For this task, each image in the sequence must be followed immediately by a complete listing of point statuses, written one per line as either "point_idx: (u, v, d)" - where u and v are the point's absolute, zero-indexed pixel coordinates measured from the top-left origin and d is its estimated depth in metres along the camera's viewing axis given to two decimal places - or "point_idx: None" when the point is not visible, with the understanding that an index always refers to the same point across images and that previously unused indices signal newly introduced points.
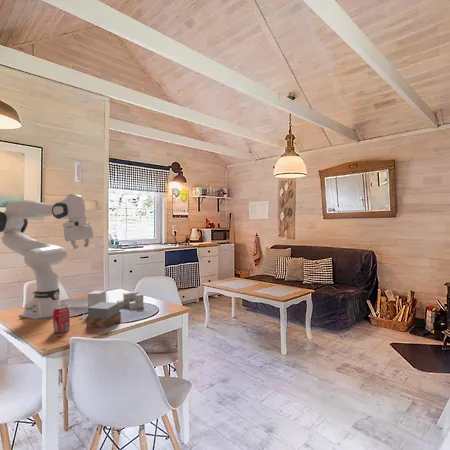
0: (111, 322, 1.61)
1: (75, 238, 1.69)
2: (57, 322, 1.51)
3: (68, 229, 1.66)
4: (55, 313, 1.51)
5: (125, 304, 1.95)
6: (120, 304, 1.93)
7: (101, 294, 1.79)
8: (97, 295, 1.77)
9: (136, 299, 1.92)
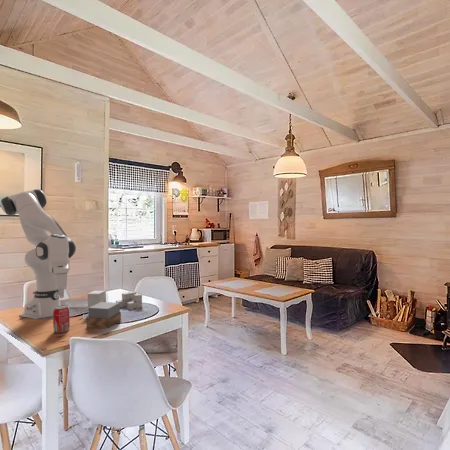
0: (111, 322, 1.61)
1: None
2: (57, 322, 1.51)
3: (63, 276, 1.46)
4: (55, 313, 1.51)
5: (124, 304, 1.94)
6: None
7: (101, 294, 1.79)
8: (97, 295, 1.77)
9: (135, 299, 1.92)
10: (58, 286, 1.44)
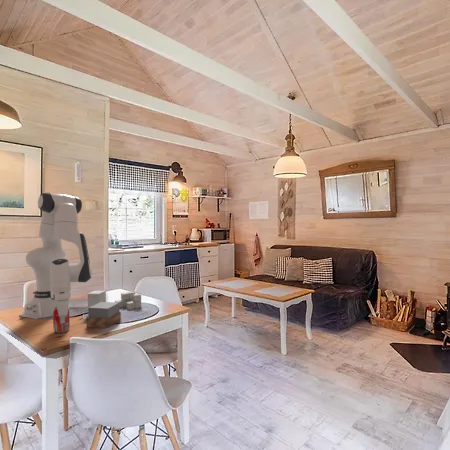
0: (111, 322, 1.61)
1: None
2: (57, 322, 1.51)
3: (64, 303, 1.46)
4: (55, 313, 1.51)
5: (123, 304, 1.94)
6: None
7: (101, 294, 1.79)
8: (97, 295, 1.77)
9: (134, 299, 1.92)
10: (59, 313, 1.45)
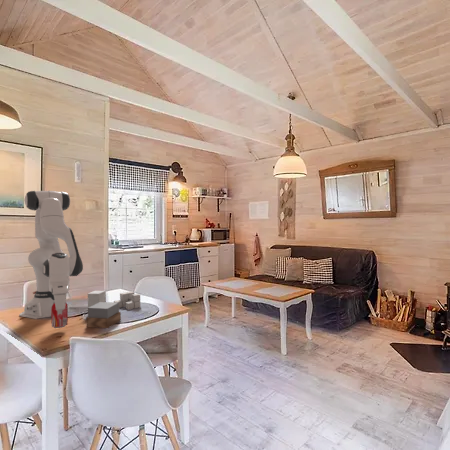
0: (111, 322, 1.61)
1: None
2: (55, 316, 1.50)
3: (62, 297, 1.46)
4: (53, 307, 1.50)
5: (122, 304, 1.94)
6: None
7: (101, 294, 1.79)
8: (97, 295, 1.77)
9: (133, 299, 1.92)
10: (56, 307, 1.45)
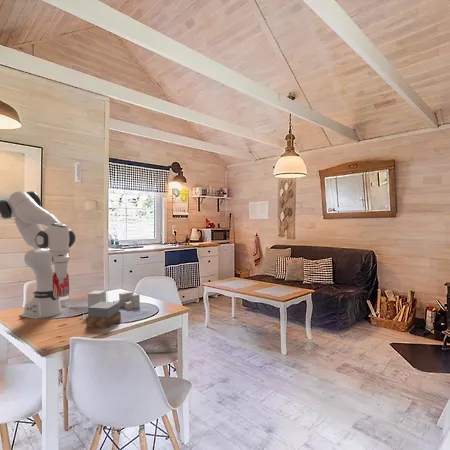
0: (111, 322, 1.61)
1: None
2: (57, 285, 1.49)
3: (63, 265, 1.46)
4: (54, 277, 1.50)
5: (121, 304, 1.94)
6: None
7: (101, 294, 1.79)
8: (97, 295, 1.77)
9: (132, 299, 1.92)
10: (58, 275, 1.44)
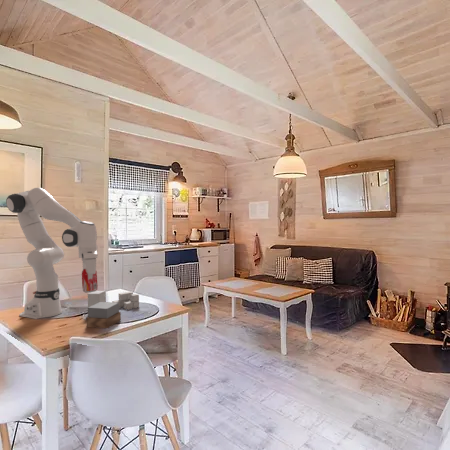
0: (111, 322, 1.61)
1: None
2: (86, 281, 1.56)
3: (92, 261, 1.52)
4: (84, 273, 1.57)
5: (120, 304, 1.94)
6: None
7: (101, 294, 1.79)
8: (97, 295, 1.77)
9: (132, 299, 1.92)
10: (88, 270, 1.51)
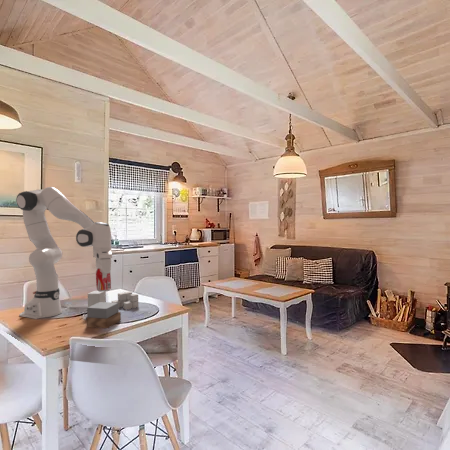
0: (111, 322, 1.61)
1: None
2: (100, 280, 1.60)
3: (107, 261, 1.56)
4: (98, 272, 1.61)
5: (120, 304, 1.94)
6: None
7: (101, 294, 1.79)
8: (97, 295, 1.77)
9: (131, 299, 1.92)
10: (103, 270, 1.55)
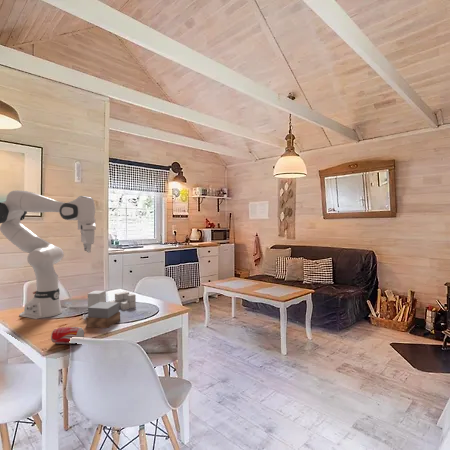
0: (111, 322, 1.61)
1: None
2: (65, 334, 1.36)
3: (91, 232, 1.62)
4: (55, 336, 1.36)
5: None
6: None
7: (101, 294, 1.79)
8: (97, 295, 1.77)
9: (128, 299, 1.92)
10: (87, 241, 1.61)
